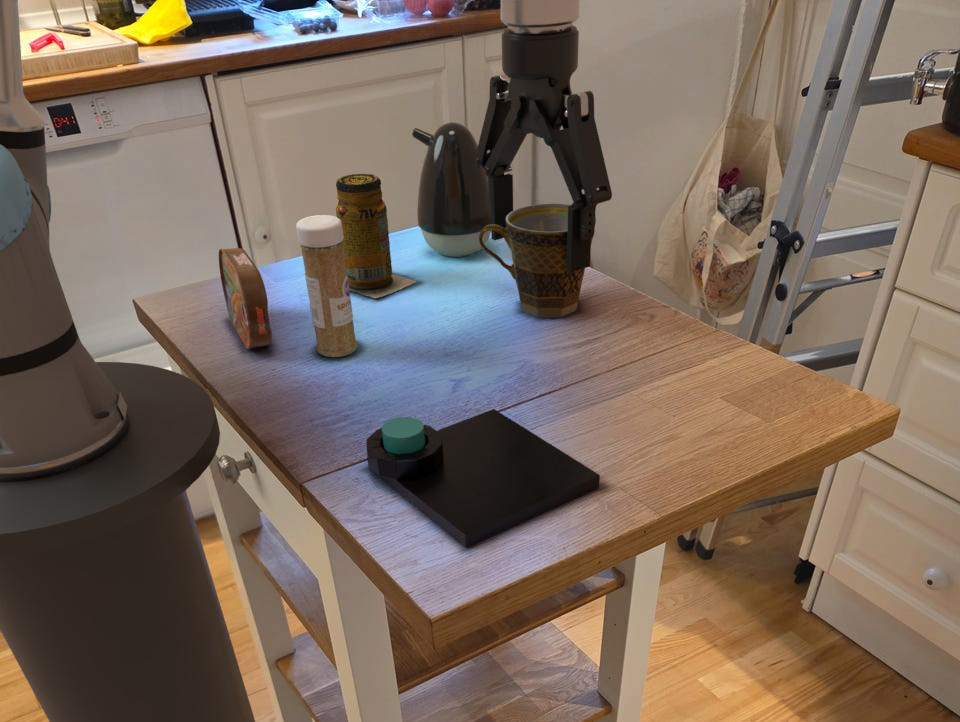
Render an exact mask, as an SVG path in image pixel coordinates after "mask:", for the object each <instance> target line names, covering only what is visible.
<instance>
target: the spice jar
mask: <svg viewBox="0 0 960 722" xmlns="http://www.w3.org/2000/svg"><path fill="white" fill-rule="evenodd" d="M295 226H296V234H297V235H296V236H297V241H298V244H299V246H300V248H301V255H302V261H303V265H304V266H303V267H304V278H305V284H306V290H307V294H308V295H307V296H308V302H309V308H310V313H311V319H312V324H313V326H314V327H313V328H314V333H315V339H316V351H317V352H318V354H320V355H321V356H323V357H324V356H325V357H327V358H341V357H345V356H347V355H351V354H352V353H354V352H356V350H357V348H358V341H357V339H356V333H355V326H354V314H353V307H352V298H351V291H350V290H349V283H348V277H347V273H346V265H345V259H344V250H343V241H342V240H343V238H344V237H343V229H342V223H341V220H340V219H339V218H337V216H335V215H330V214H318V215H311V216H306V217H303V218H301V219H299V220H298V221H297V222H296V224H295Z"/></svg>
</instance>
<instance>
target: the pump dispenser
mask: <svg viewBox="0 0 960 722" xmlns="http://www.w3.org/2000/svg"><path fill="white" fill-rule="evenodd" d="M411 132H412V133H411V135H412V138H414V139H415V140H417V141H419V142H421V143H422V144H424V146H426V147H427V150H426V153H425V156H424V159H423V163H422V167H421V173H420V179H419V184H418V194H417V210H416V211H417V214H416V215H417V225H418V227H419V228H420V231H421V234H422V236H423V238H424V241H425V243H426V244H427V245H428V246H429V247H430V249H432V250H433V251H434V252H436V253H437V254H439V255H443V256H444V257H453V258H461V257H467V256H470V255H473V254H475V253H477V252H479V251H481V249H483V248H482V247H481V245H480V243H479V235H480V232H481V230H482V229H483V228H484V227H485V226H487V225H490V224H491V205H490V203H489V189H488V176H486V174H485V169H484V168H483V167H477V166H476V164H475V156H476V152H477V148H478V144H479V143H478V142H477V140H476V138H475V136H474V135H473V133H472V132H471V130H470V129H469V128H468V127H467V126H465V125H464V124H461V123H460V122H455V121H454V122H453V121H452V122H451V121H450V122H446V123H444V124H442V125H440V126H439V127H438V128H437V129H436V130H435V132H434V134H431V133H429V132H427V131H424V130H422V129H420V128H417V127H415V128H414V129H412V131H411ZM490 236H491V231H487V232H485V233H484V234H483V237H482V241H483V244H484V245H485V246H486V244H487V242H488V241H489V238H490Z"/></svg>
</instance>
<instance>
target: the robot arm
mask: <svg viewBox="0 0 960 722" xmlns="http://www.w3.org/2000/svg"><path fill="white" fill-rule="evenodd" d="M579 17H580V0H500V21H501V22H502V23H503V24H504V25H505V26H507V28H505V29H504V30H503V32H502V33H501V68H502V69H501V70H502V72H503V74H499V75H494V76H491V77H490V79H489V96H488V97H489V99H488V103H487V107H486V112H485V115H484V120H483V124H482V128H481V132H480V135H479V140H478V143H477V144H478V148H477V152H476V156H475V164H476V166H477V167H483V168H484V169H485V174H486V176H488V189H489V203H490V205H491V224H496V225H500V226H502V227H503V228H506V227H507V225H506V216H507V215H508V214H509V213H510V212H512V211H514V176H513V174H511V173H508V172H512V171H513V169H512V166H511V165H512V163H513V161H514V159H515V157H516V156H517V154H518V152H519V150H520V148H521V146H522V145H523V142H524V141H525V139H526V137H527V135H529V134H533V135H534V136H535V137H537V138H539V139H543V141H544V143H545V145H546V146H548V147H550V148H551V151H552V154H553V156H554V158H555V161H556V163H557V165H558V168H559V171H560V173H561V175H562V177H563V180H564V183H565V185H566V187H567V190H568V192H569V194H570V196H571V199H572V203H571V204H570V205H571V206H569V207H568V234H567V271H568V272H571V273H572V272H575V271H578V270H581V269H584V268H585V269H586V268H590V267H591V255H592V253H591V250H592V244H591V238H593V239H594V235H595V231H596V230H595V228H596V223H595V216H596V211H597V210H596V208H597V205H599V204H602V203H605V202H609V201H610V200H612V197H613V192H612V188H611V183H610V180H609V175H608V169H607V165H606V162H605V158H604V153H603V149H602V145H601V140H600V137H599V131H598V127H597V123H596V118H595V96H594V93H593V91H591V90H586V91H582V92H578V93H577V92H576V93H573V92H572V87H571V78H572V76H573V74H574V73H576V71H577V69H578V66H579V40H580V39H579V38H580V32H579V30H578V28H577V26H575V25H573V23H575V22H577V20H578V19H579ZM20 30H21V29H20V15H19V0H0V482H13V481H26V480H33V479H39V478H45V477H49V476H53V475H57V474H61V473H64V472H67V471H70V470H73V469H76V468H78V467H81V466H83V465H85V464H88V463H90V462H92V461H94V460H95V459H97V458H99V457H101V456H102V455H104V454H105V453H107V452H108V451H110V450H111V449H112V448H114V447H115V446H116V445H117V444H118V443H119V442H120V441H121V440H122V439H123V437H124V436H125V434H126V433H127V430H128V428H129V417H128V414H127V405H126V403H125V401H124V399H123V397H122V395H121V393H120V394H119V393H118V391H117V390H116V389H115V387H114V386H113V385H112V383H111V382H110V381H109V379H108V378H107V377H106V375H105V374H104V373H103V371H102V370H101V369H100V367H99V366H98V365H97V363H96V362H97V361H96V360H95V359H94V358H93V356H92V355H91V353H90V352H89V351H88V350H87V348H86V347H85V346H84V344H83V342H82V341H81V338H80V336H79V332H78V330H77V327H76V325H75V322H74V319H73V316H72V312H71V310H70V306H69V303H68V301H67V298H66V296H65V293H64V290H63V287H62V284H61V281H60V278H59V275H58V273H57V269H56V267H55V264H54V261H53V257H52V253H51V250H50V249H51V248H50V247H51V245H50V222H51V216H52V198H51V197H52V196H51V191H50V187H49V184H48V168H47V167H48V166H47V165H48V164H47V147H46V145H47V144H46V132H45V131H46V129H45V119H44V118H43V117H42V115H40V113H39V112H38V110H36V109H35V108H34V106H33V105H32V104H31V103H30V102H29V100H28V99H27V98H26V96H25V94H24V82H23V66H22V50H21V49H22V47H21V46H22V45H21V31H20ZM561 128H562V129H561ZM505 173H507V174H505ZM594 227H595V228H594ZM490 236H491V237H490V238H491V240H493V241H498V240H502V239H504V237H503V236H502V235H500V234H499V233H497V232H495V231H491V233H490Z"/></svg>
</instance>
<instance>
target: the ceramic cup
mask: <svg viewBox="0 0 960 722" xmlns="http://www.w3.org/2000/svg"><path fill="white" fill-rule="evenodd" d="M571 205H572V204H567V203H538V204H531V205H526V206H522V207H519V208H516V209H513V211H512V212H510V213H509V214H508V215H507V216H506V225H507V227H506V228H503V227H502V226H500V225H496V224H490V225H487V226H485V227H484V228H483V229H482V230H481V232H480V235H479V243H480V245H481V247H482V248H481V249H482V250H483V251H484V252H485V253H486V254H488V255H490V256H491V257H492V258H494V259H495V260H496V261H497V262H498V263H499V264H500V265H501V266H502V267H503V268H504V269H506V270H507V271H508V272H509V274H510V275H511V277H512V279H514V280H515V283H516V287H517V291H518V298H519V303H520V309H521V312H522V313H524V314H527V315H530V316H533V317H535V318H539V319H544V318H545V319H548V318H563V317H565V316H567V315H569V314H571V313H574V312H575V311H577V308H578V303H579V299H580V294H581V288H582V284H583V280H584V276H585V270H586V268H584V269H581V270H578V271H575V272H572V273H571V272H568V271H567V234H568V207H569V206H571ZM596 223H597V216H596V215H595V224H596ZM594 228H596V226H595V227H594ZM487 231H495V232H497V233H499V234H500V235H502V236H503V237H504V238H503V240H504V241H505V243H506V244H507V246H508V248H509V250H510V252H511V259H512V264H511V265H509V264H507V263H505V261H504V260H503V258H501V257H500V256H499V255H498V254H497V253H495V252H494V251H493V250H491V249H489V247H487V246H486V244H485V245H484V244H483V241H482V237H483V234H484V233H485V232H487ZM593 239H594V237H593V238H591V245H592V243H593Z"/></svg>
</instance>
